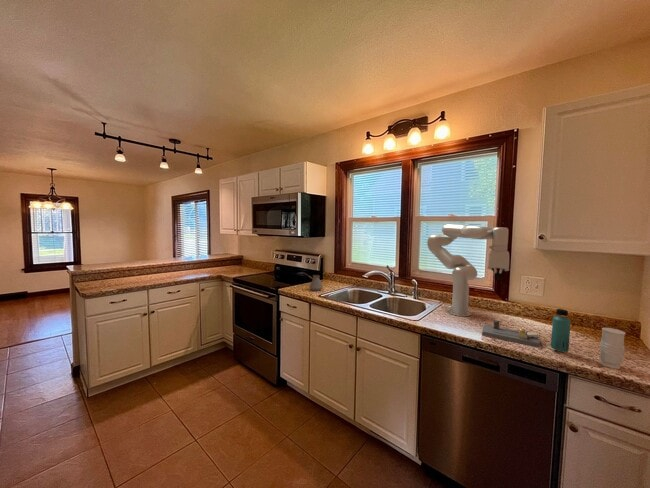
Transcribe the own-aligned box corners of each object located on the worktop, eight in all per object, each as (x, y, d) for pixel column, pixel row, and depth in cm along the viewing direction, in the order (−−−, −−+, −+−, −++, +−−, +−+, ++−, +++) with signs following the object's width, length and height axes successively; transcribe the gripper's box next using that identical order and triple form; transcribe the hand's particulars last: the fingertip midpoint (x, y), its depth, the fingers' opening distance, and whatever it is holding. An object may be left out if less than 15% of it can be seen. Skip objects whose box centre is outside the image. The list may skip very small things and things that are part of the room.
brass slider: (518, 337, 133) (519, 329, 133) (518, 335, 136) (519, 328, 135) (525, 338, 132) (525, 331, 132) (524, 337, 134) (525, 329, 134)
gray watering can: (324, 289, 236) (325, 273, 235) (318, 292, 226) (318, 275, 225) (304, 286, 246) (304, 270, 245) (297, 289, 236) (297, 272, 235)
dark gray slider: (493, 328, 145) (493, 321, 145) (493, 326, 147) (493, 319, 147) (499, 329, 144) (499, 322, 144) (499, 327, 146) (499, 320, 146)
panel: (482, 335, 141) (482, 329, 141) (483, 327, 152) (484, 322, 151) (539, 347, 127) (540, 340, 127) (537, 338, 138) (537, 332, 138)
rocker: (527, 336, 134) (527, 334, 134) (527, 334, 137) (526, 332, 137) (538, 336, 131) (538, 334, 131) (537, 334, 134) (537, 332, 134)
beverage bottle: (562, 356, 119) (565, 312, 118) (546, 349, 125) (549, 308, 124) (572, 354, 121) (575, 311, 120) (556, 347, 127) (559, 307, 126)
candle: (623, 371, 107) (626, 335, 106) (598, 364, 112) (601, 330, 111) (622, 365, 112) (625, 330, 111) (598, 359, 117) (601, 326, 116)
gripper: (484, 248, 155) (482, 279, 156) (515, 249, 146) (513, 282, 148) (484, 247, 161) (483, 277, 162) (515, 249, 153) (512, 280, 154)
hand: (497, 279), depth 155 cm, fingers closed
